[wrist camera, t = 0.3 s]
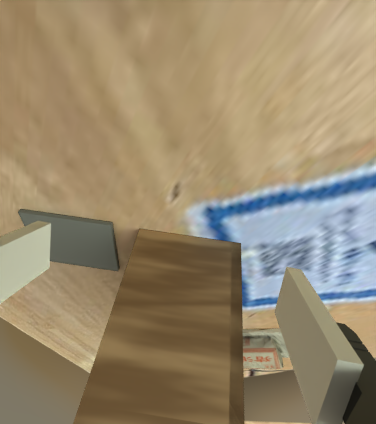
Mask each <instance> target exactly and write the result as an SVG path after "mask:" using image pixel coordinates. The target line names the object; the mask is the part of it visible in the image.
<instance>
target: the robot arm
mask: <svg viewBox="0 0 376 424" xmlns="http://www.w3.org/2000/svg"><path fill="white" fill-rule="evenodd" d="M50 237H51V223H48V222H42V221H36V222H34V223H31V224H29V225H27V226H24V227H22V228H20V229H17V230H15V231H12V232H10V233H8V234H5V235H3V236H1V237H0V303H2V302H3V301H5V300H6V299H7V298H9V297H10V296H11V295H13V294H14V293H16V292H17V291H18V290H20V289H21V288H22V287H24V286H25V285H27V284H28V283H29V282H31V281H32V280H33V279H35V278H36V277H37V276H39V275H40V274H42V273H43V272H44V271H46V270H47V269H48V268H49V266H50ZM275 315H276V318H277V321H278V324H279V327H280V330H281V333H282V336H283V339H284V342H285V345H286V348H287V351H288V354H289V357H290V360H291V363H292V366H293V369H294V372H295V375H296V378H297V381H298V383H299V387H300V390H301V393H302V396H303V399H304V402H305V405H306V408H307V410H308V414H309V417H310V420H311V423H312V424H342V422H343V421H344V423H345V424H376V361H375V359H374V358H373V357H372V355H371V354H370V352H368V350H367V348H366V347H365V346H364V344H362V341H361V340H360V339H359V337H358V336H357V334H356V333H355V332H354V331H352V330H351V329H350V328H349V327H348V326H346V325H345V324H341V323H336V322H335V320H334V319H333V317H332V316H331V314H330V313H329V311H328V310H327V308H326V307H325V305H324V304H323V302H322V301H321V299H320V298H319V296H318V295H317V293H316V292H315V290H314V289H313V287H312V286H311V284H310V282H309V281H308V279H307V278H306V276H305V275H304V273H303V272H302V270H300V269H295V268H289V267H286V271H285V275H284V278H283V282H282V286H281V290H280V293H279V297H278V301H277V305H276V309H275Z"/></svg>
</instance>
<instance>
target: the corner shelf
mask: <svg viewBox="0 0 376 424" xmlns="http://www.w3.org/2000/svg"><path fill="white" fill-rule="evenodd" d="M243 381H244V380H243V327H242V274H241V243H235V242H228V241H221V240H214V239H207V238H200V237H193V236H186V235H179V234H172V233H165V232H158V231H152V230H145V229H139V232H138V235H137V238H136V241H135V244H134V246H133V249H132V252H131V255H130V258H129V261H128V264H127V267H126V270H125V273H124V276H123V279H122V282H121V285H120V288H119V291H118V293H117V296H116V299H115V302H114V305H113V308H112V311H111V314H110V317H109V320H108V323H107V326H106V329H105V332H104V335H103V337H102V340H101V343H100V346H99V349H98V352H97V355H96V358H95V361H94V364H93V367H92V370H91V373H90V376H89V379H88V382H87V384H86V387H85V391H84V393H83V396H82V399H81V402H80V405H79V408H78V411H77V414H76V417H75V420H74V423H73V424H244V382H243Z"/></svg>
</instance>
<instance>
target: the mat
mask: <svg viewBox="0 0 376 424" xmlns="http://www.w3.org/2000/svg"><path fill="white" fill-rule="evenodd" d="M18 213H19V215H20V217H21V219H22V222H23V224H24V226H27V225H29V224H31V223H34V222H36V221H42V222H48V223H51V237H50V261H53V262H59V263H66V264H73V265H79V266H86V267H93V268H99V269H106V270H113V271H119V262H118V256H117V249H116V243H115V237H114V230H113V224H112V222H107V221H101V220H94V219H87V218H80V217H73V216H66V215H59V214H52V213H45V212H38V211H31V210H24V209H20V210H19V212H18Z"/></svg>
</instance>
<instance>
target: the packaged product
mask: <svg viewBox="0 0 376 424" xmlns="http://www.w3.org/2000/svg"><path fill="white" fill-rule="evenodd" d="M282 357H286V358H288V357H289V354H288V351H287V348H286V345H285V342H284V339H283V336H282V333H281V330H280V329H263V330H260V329H243V368H246V369H281V368H282V367H283V361H282Z"/></svg>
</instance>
